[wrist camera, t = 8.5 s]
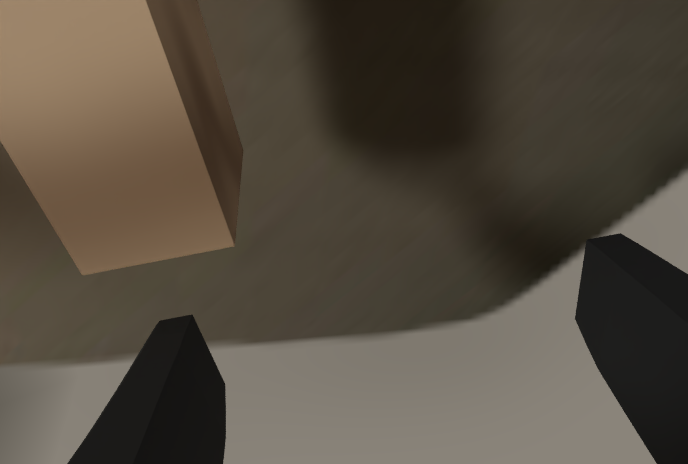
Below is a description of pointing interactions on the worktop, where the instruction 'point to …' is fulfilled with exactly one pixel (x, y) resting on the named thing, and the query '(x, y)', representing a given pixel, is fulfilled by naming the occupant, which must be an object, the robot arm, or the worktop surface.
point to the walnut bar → (120, 127)
